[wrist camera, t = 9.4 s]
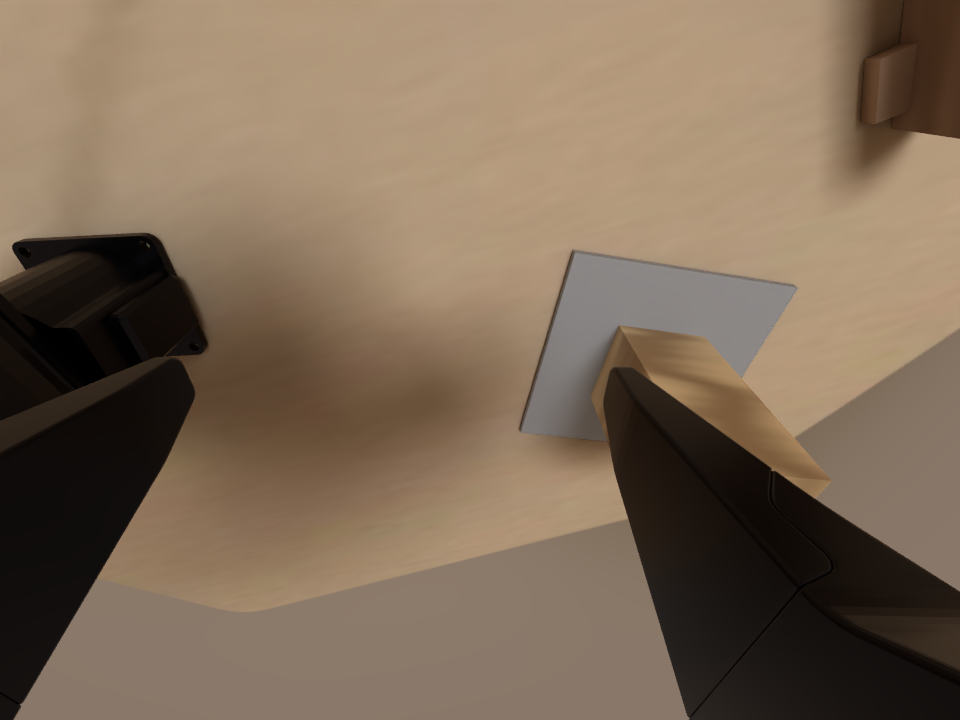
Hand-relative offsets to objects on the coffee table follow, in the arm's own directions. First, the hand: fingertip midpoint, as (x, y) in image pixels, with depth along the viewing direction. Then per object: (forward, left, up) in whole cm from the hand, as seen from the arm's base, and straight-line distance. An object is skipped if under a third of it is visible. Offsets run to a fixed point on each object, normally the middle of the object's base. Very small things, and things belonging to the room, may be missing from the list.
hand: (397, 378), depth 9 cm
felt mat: (+11, -9, -13) cm, 20 cm away
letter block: (+11, -10, -13) cm, 19 cm away
